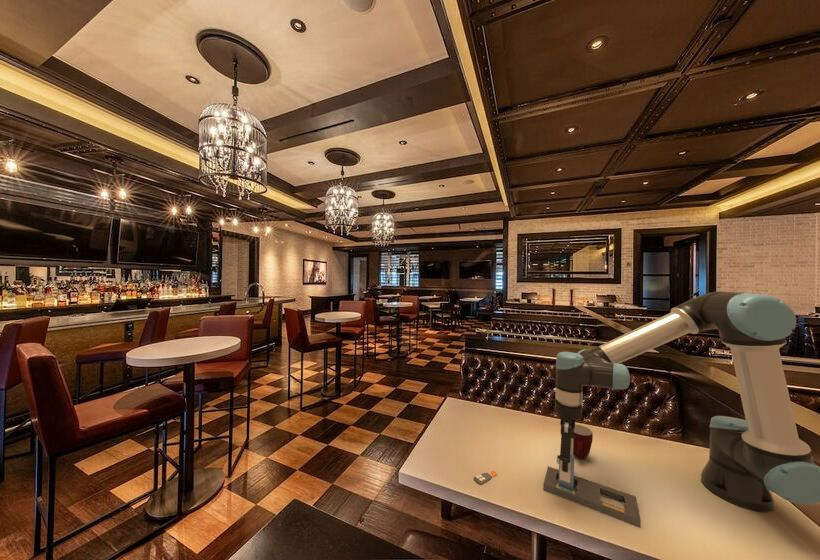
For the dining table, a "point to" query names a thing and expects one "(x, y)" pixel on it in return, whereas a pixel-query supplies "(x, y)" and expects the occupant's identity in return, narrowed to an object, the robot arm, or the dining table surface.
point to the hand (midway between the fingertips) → (566, 467)
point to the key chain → (485, 477)
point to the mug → (582, 441)
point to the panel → (595, 497)
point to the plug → (571, 484)
